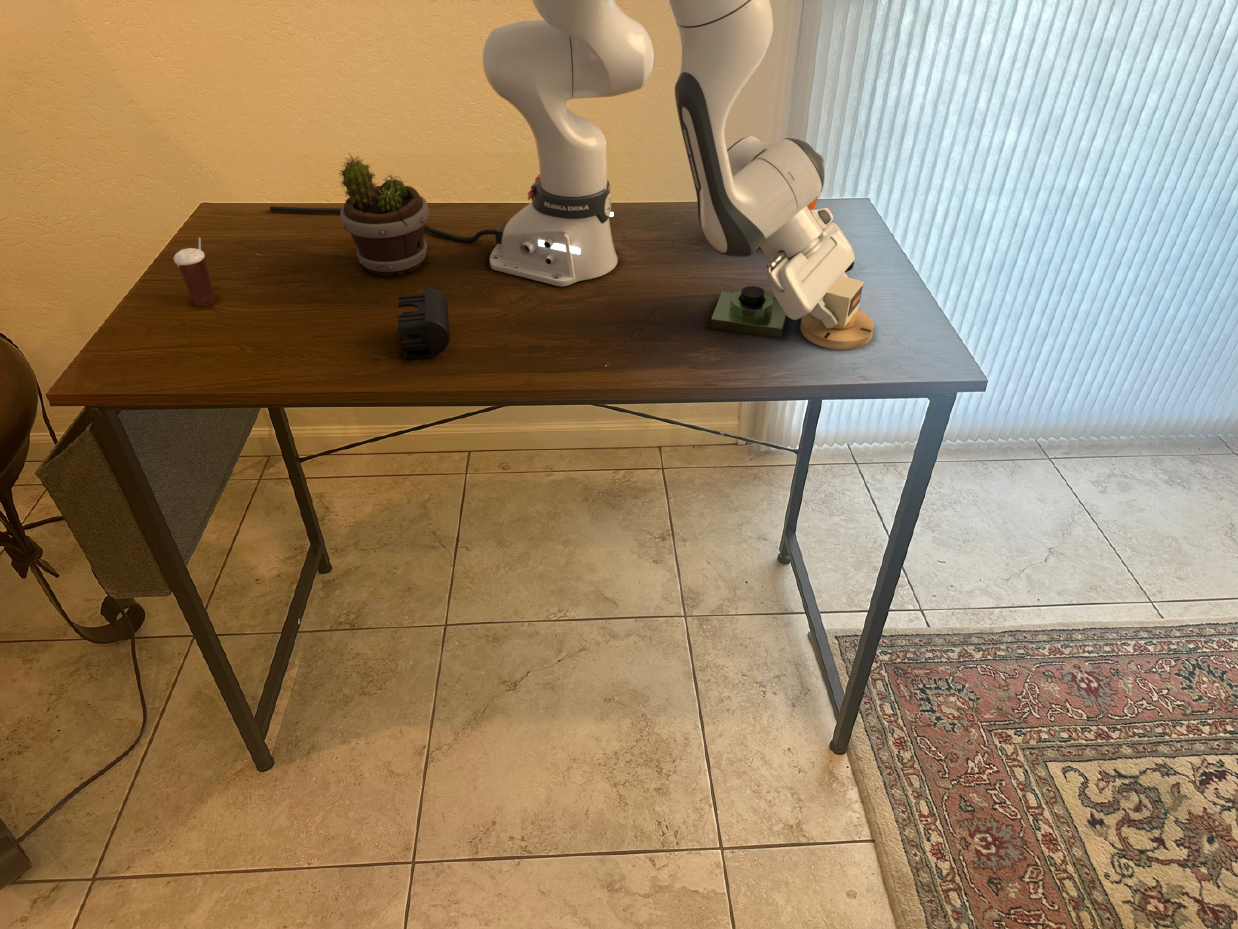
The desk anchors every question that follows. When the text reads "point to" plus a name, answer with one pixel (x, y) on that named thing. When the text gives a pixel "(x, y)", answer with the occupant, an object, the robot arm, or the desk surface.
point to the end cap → (424, 324)
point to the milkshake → (195, 275)
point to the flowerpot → (383, 221)
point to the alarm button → (752, 296)
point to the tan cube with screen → (844, 300)
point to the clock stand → (838, 332)
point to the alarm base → (748, 315)
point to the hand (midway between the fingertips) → (843, 313)
